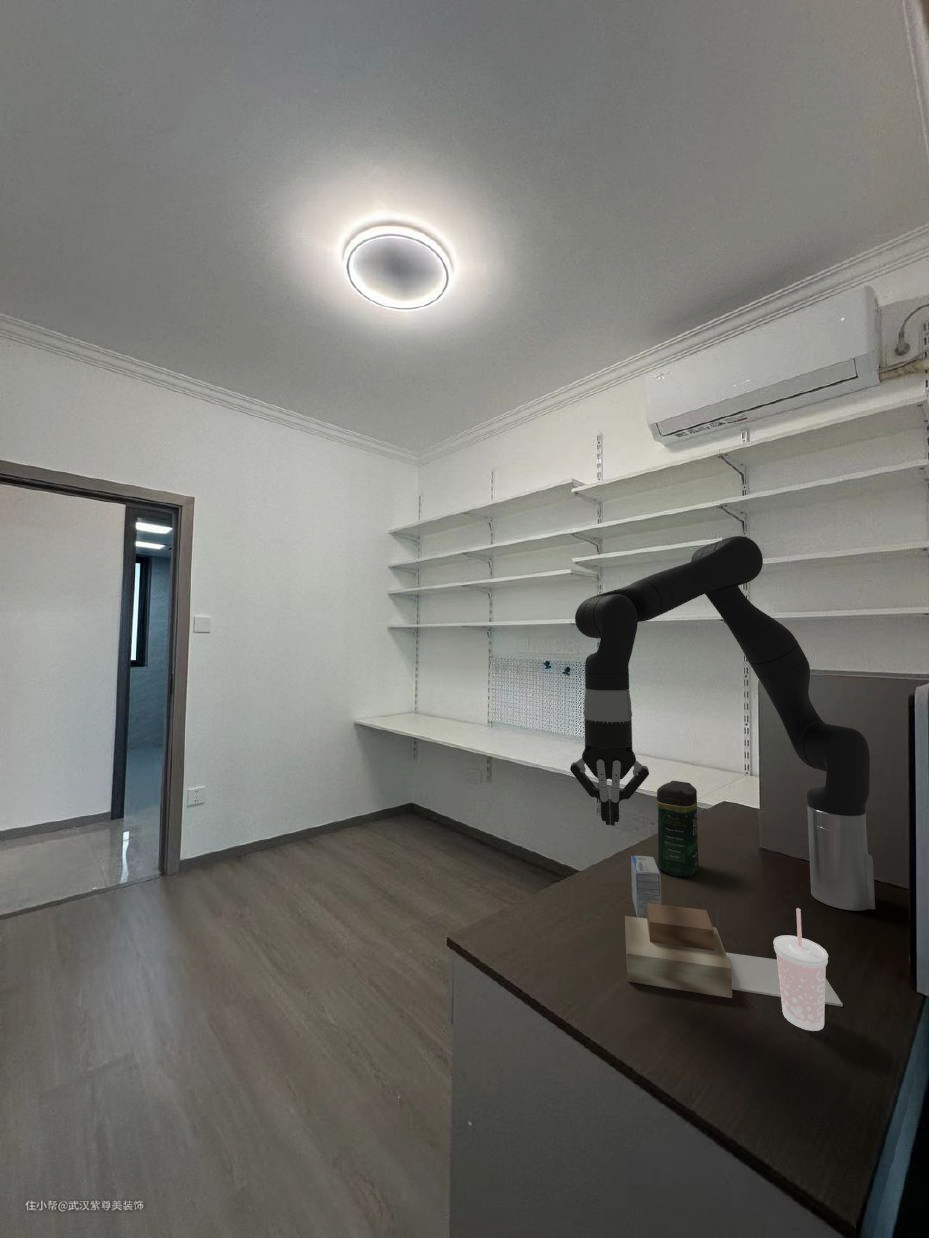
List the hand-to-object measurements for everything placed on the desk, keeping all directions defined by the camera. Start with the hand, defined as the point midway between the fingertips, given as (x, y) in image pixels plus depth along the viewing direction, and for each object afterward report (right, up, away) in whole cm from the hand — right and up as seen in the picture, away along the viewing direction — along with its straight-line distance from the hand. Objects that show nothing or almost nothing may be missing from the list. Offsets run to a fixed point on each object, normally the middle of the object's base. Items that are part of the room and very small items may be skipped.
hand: (610, 823), depth 85 cm
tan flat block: (+8, -20, -5) cm, 22 cm away
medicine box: (+10, -21, +12) cm, 26 cm away
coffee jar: (+23, -22, +30) cm, 44 cm away
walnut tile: (+10, -16, -4) cm, 19 cm away
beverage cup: (+21, -20, -16) cm, 33 cm away
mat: (+22, -20, -8) cm, 31 cm away
